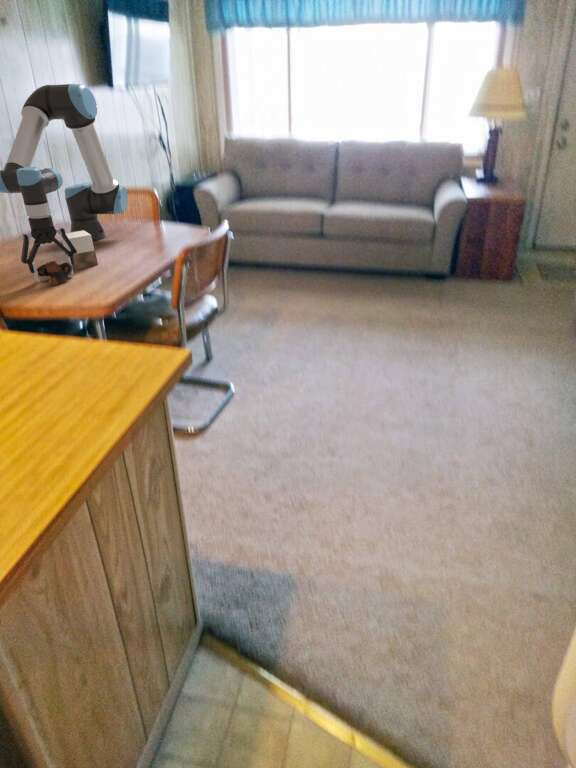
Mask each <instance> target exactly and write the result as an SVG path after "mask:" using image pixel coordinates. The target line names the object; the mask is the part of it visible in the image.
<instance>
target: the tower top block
mask: <svg viewBox="0 0 576 768" xmlns="http://www.w3.org/2000/svg"><path fill="white" fill-rule="evenodd" d="M65 234H66V236H67V237H68V239H69V240H70V242H71V243H72V245H73V246H74V248H75V249H76V251H77V253H76V254H78V253H84V252H89V251H94V250H95V247H94V243H93V242H94V241H92V237H91V234H89V233H87V232H86V231H84V230H83V231H77V232H71V233H70V232H65ZM60 240H61V244H62V245H63V246H64V247H65V248H67V249H68V250H69V251H71V250H70V248H69V247H68V245H67V244H66V242H65V241H64V239H63V238H62V236H61V235H60Z"/></svg>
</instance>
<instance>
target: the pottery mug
mask: <svg viewBox="0 0 576 768" xmlns="http://www.w3.org/2000/svg"><path fill="white" fill-rule="evenodd" d="M66 267H67V271H66ZM36 269H37V273H38V277H39V278H40V277H44V276H45V277H50V278H52V279H50V280H49V282H50V283H51V284H52V286H56V285H58V284H61V283H65V282H67V278H68V277H69V275H71V274H70V273H71V271H72V266H71V265H70V264H69V263H67V262H62V263H61V264H59V263H57V260H56V261H55V260H53V261H52V260H51V261H48V262H47V263H45V264H42V265H40V266H38V267H36Z"/></svg>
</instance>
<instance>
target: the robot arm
mask: <svg viewBox="0 0 576 768" xmlns="http://www.w3.org/2000/svg"><path fill="white" fill-rule="evenodd" d="M97 105H98V104H97V100H96V97H95V96H94V93H93V92H92V91H91V90H90V89H89V87H88V86H87V85H84V84H81V83H68V84H45V85H42V86H40V87H38V88H36V89H35V90H34V91H33V92H32V93H31V94H30V95H29V96H28V97H27V99H26V100H25V102H24V103H23V106H22V108H21V113H20V114H21V121H20V124H19V126H18V128H17V133H16V135H15V137H14V141H13V144H12V146H11V149H10V152H9V155H8V157H7V160H6V162H5V165H4V168H3V169H0V193H2V194H4V193H5V194H21V197H22V199H23V204H24V208H25V211H26V212H25V213H26V216H27V217H28V218H27V219H28V224H29V227H30V233H22V235H21V236H22V240H23V243H22V250H21V258H20V262H21V263H23V264H24V265H25V264H27V265H28V269H29V272H30V273H31V274H33V275H34V276H33V277H34V279H35V281H36V282H37V283H41V282H40V281H41V280H40V276H39V277H38V272H37V266H36V263H35V262H34V260H35V258H36V255H37V254H38V251H39V248H40V247H41V245H45V244H51V243H52V242H53V243H54V244H55V245H57V247H58V248H60V249H61V250H62V251H63V252H64V254H65V253H66V254H68V255H67V256H66V255H65V260H66V263H69V264H70V265H71V266H72V265H73V264H74V260H73V254H76V253H77V251H76V249H75V248H74V246H73V245H72V243H71V242H70V240H69V239H68V237H67V236H66V230H65V229H64V228H63V227H59V228H55V225H54V222H53V217H52V215H51V212H52V211H51V209H50V205H49V204H50V203H49V202H48V198H47V194H50V193H53V192H56V191H57V190H59V189H60V188H62V185H63V183H64V182H63V181H64V180H63V176H62V174H61V173H60V172H59V170H57V169H55V168H53V167H48V168H47V167H45V168H43V169H41V168H39V167H37V166H32V164H33V160H34V158H35V155H36V152H37V149H38V146H39V143H40V140H41V137H42V135H43V132H44V129H46V128H47V127H48V126H49V124H50V122H51V121H53V120H63V122H64V125H65V127H66V128H68V129H69V130H71V132H72V134H73V137H74V139H75V142H76V145H77V146H78V150H79V152H80V155H81V157H82V160H83V162H84V164H85V167H86V170H87V172H88V175H89V177H90V180H91V182H92V184H91V182H84V183H78V184H73V185H71V186H70V185H69V186H67V187H65V188H64V199H65V202H66V206H67V209H68V214H69V218H70V231H69V233H71V232H77V231H83V230H84V231H86V232H87V233H89V234H91V237H92V241H93V242H94V241H98V240H101V239H104V238H106V231H105V230H104V228H103V226H102V224H101V222H100V220H99V218H98V217H99V216H98V215H115V216H116V215H122V214H125V212H126V211H127V208H128V201H129V199H128V191H127V188H126V187H125V186H123V185H120V184H119V182H118V180H117V179H116V178H114V177H113V176H112V172H111V170H110V167H109V164H108V161H107V159H106V155H105V152H104V150H103V148H102V145H101V142H100V139H99V136H98V133H97V130H96V129H95V125H94V123H95V122H96V117H97V115H98V106H97ZM57 234H58V235H60V237H61V236H62V238H63V239H64V241H65V242H66V244H67V245H68V247H69V248H70V250H71V251H69V250H68V249H67V248H65V247H64V246H63V243H62V242H60V241H59V240H58V239H57V238H56V236H57ZM31 238H33V240H34V241H33V245H32V248H31V250H30V252H29V248H30V247H29V244H30V241H31ZM28 252H29V253H28ZM28 254H29V255H28ZM69 275H71V276H72V275H75V274H74V269H73V268H72V271H71V273H70V274H69Z"/></svg>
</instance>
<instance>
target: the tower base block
mask: <svg viewBox="0 0 576 768" xmlns="http://www.w3.org/2000/svg"><path fill="white" fill-rule="evenodd" d="M96 253H97V252H96V249H94V251H89V252H84V253H78V254H73V260H74V264H73V265H72V268H73V270H74V271H75V270H81V268H82V269H86V268H89V267H90V266H91V267H95V266H98V265H99V264H98V263H99V262H98V258H97V257H98V256H97V254H96ZM64 255H65V257H66V256H67V255H68V254H66V253H65V252H64ZM94 265H95V266H94ZM85 267H86V268H85Z"/></svg>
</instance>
